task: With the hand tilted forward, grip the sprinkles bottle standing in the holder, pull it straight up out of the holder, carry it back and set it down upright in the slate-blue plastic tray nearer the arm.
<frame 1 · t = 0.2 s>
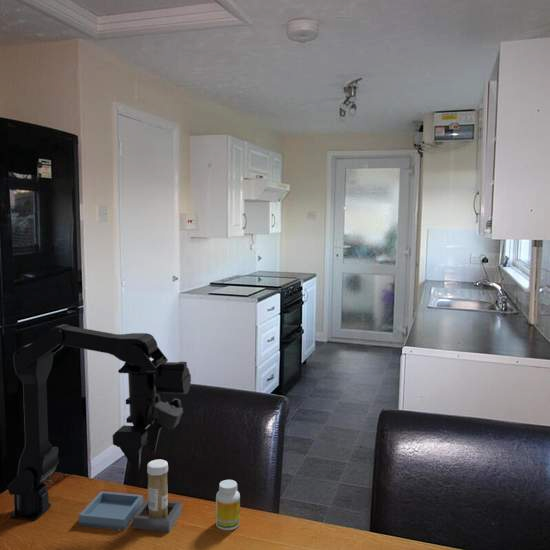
hand: (145, 461, 118), 15 cm above the table, tool pointing down, fingers open, 9 cm apart
supplement bottle: (227, 525, 120), on the table
tray: (112, 515, 123), on the table
sprinkles bottle: (158, 520, 121), resting in bottle holder
bottle holder: (158, 519, 121), on the table
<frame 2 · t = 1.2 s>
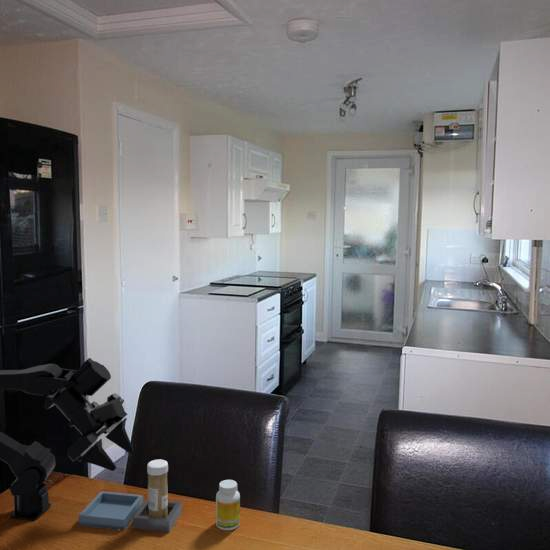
hand: (123, 460, 121), 13 cm above the table, tool tilted 45°, fingers open, 9 cm apart
nothing on the table moved.
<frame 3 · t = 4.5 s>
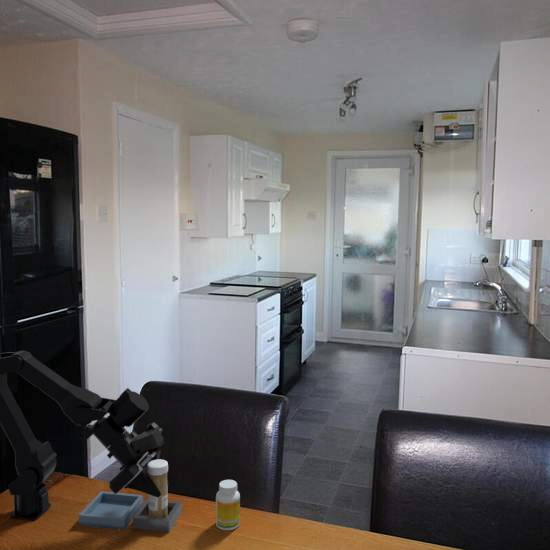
hand: (163, 490, 120), 7 cm above the table, tool tilted 45°, fingers closed on sprinkles bottle, 4 cm apart
sprinkles bottle: (158, 520, 121), resting in bottle holder, touching gripper
everything else where it was.
when the fingers open (9 cm above the table, at t = 8.9 s): sprinkles bottle drops 1 cm, resting on tray.
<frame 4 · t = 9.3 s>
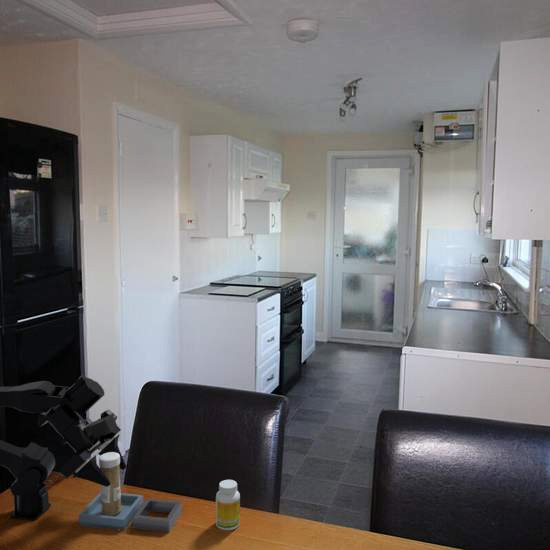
hand: (117, 476, 122), 9 cm above the table, tool tilted 45°, fingers open, 8 cm apart
sprinkles bottle: (111, 512, 123), point 1 cm above the table, touching tray
everything else where it was.
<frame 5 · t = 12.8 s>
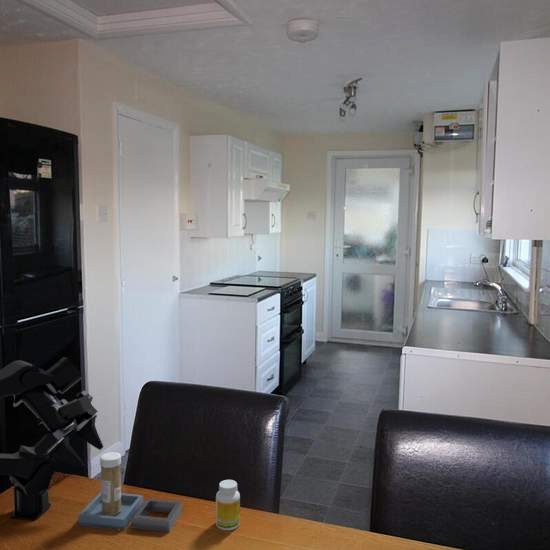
hand: (92, 456, 122), 14 cm above the table, tool tilted 45°, fingers open, 9 cm apart
nothing on the table moved.
at the end: sprinkles bottle 0.2 cm off-centre on the tray, point 0.6 cm above the tray's base; sprinkles bottle tilted 0°; the gripper is holding nothing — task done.
